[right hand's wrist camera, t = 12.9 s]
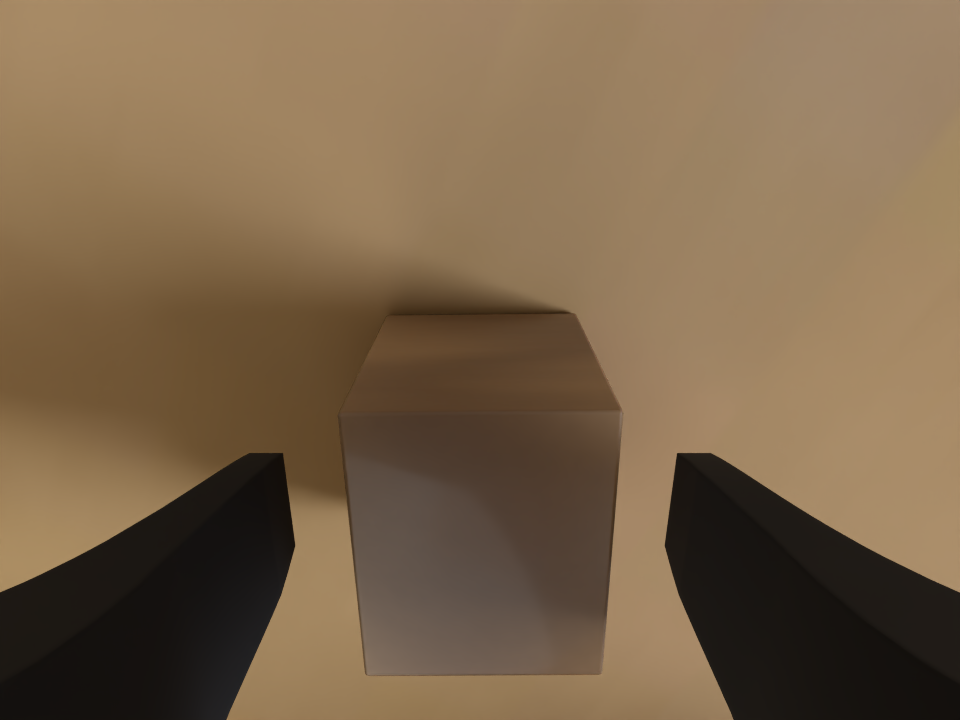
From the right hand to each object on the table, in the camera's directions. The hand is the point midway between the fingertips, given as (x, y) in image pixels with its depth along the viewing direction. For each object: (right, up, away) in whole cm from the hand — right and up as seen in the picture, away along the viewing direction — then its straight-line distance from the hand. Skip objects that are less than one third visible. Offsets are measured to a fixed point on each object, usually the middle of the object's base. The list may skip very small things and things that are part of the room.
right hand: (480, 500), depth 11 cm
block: (0, +1, +3) cm, 3 cm away
